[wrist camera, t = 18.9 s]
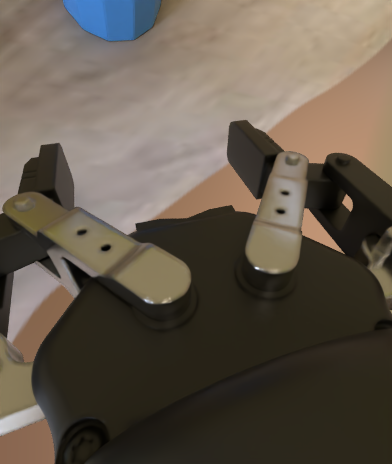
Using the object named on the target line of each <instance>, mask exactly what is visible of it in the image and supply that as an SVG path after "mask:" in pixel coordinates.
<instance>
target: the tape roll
mask: <svg viewBox="0 0 392 464" xmlns="http://www.w3.org/2000/svg"><path fill="white" fill-rule="evenodd" d="M63 2H64V6H65V8H66V9H67V11H68V12H69V13H70V14H71V15H72V17H73V18H74V19H75V20H76V21H77V23H78V24H79V25H80V26H81V27H82V29H84V30H85V31H88V32H90V33H92V34H94V35H96V36H99V37H101V38H103V39H105V40H107V41H123V40H135V39H136V38H138V37H139V36H140V35H142V34H143V33H145V32H146V31H147V30H149V29H150V28H152V27H153V25H154V22H155V19H156V17H157V14H158V11H159V8H160V5H161V0H63Z"/></svg>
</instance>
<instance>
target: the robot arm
mask: <svg viewBox="0 0 392 464" xmlns="http://www.w3.org/2000/svg"><path fill="white" fill-rule="evenodd" d="M227 157H228V161H229V163H230V164H231V166H232V167H233V168H234V170H235V171H236V173H237V174H238V175H239V177H240V178H241V179H242V181H243V182H244V183H245V185H246V186H247V187H248V188H249V190H250V192H251V193H252V194H253V196H254V197H255V198H256V199H261V198H262V200H261V203H260V206H259V209H258V212H257V215H255V214H251V213H247V212H238V211H235V210H234V208H233V206H232V205H230V206H224V207H219V208H214V209H209V210H207V211H204V212H202V213H199V214H197V215H194V216H192V217H189V218H183V219H157V220H152V221H147V222H142V223H137V224H136V230H137V231H135V232H133V233H131V234H129V235H126V234H124V233H123V232H121V231H119V230H118V229H116V228H114V227H113V226H111V225H109V224H107V223H106V222H104V221H102V220H101V219H99V218H97V217H96V216H94V215H92V214H90V213H89V212H87V211H85V210H84V209H82V208H80V207H75V208H74V183H73V178H72V175H71V172H70V169H69V166H68V163H67V161H66V158H65V155H64V152H63V149H62V147H61V145H60V143H55V144H47V145H41V148H40V153H39V157H37V158H31V159H30V160H29V161H28V162H27V163H26V164H25V165H24V169H23V174H22V179H21V182H20V186H19V190H18V195H15V196H13V197H11V198H10V199H8V200H7V201H6V202H5V203H4V205H3V208H2V209H3V212H4V213H2V214H0V436H2V435H4V434H7V433H10V432H13V431H15V430H18V429H20V428H23V427H25V426H28V425H31V424H33V423H36V422H39V421H41V420H44V419H47V422H48V424H49V427H50V430H51V434H52V437H53V443H54V451H55V464H392V314H391V312H390V310H392V187H391V186H390V185H388V184H387V183H386V182H385V181H383V180H382V179H381V178H380V177H379V176H377V175H376V174H375V173H373V172H372V171H371V170H370V169H369V168H367V167H366V166H365V165H363V164H362V163H361V162H360V161H359V160H357V159H356V158H354V157H353V156H350V155H347V154H343V153H332V154H329V155H328V156H327V157H326V160H325V163H324V164H317V163H309V160H308V158H307V157H306V156H304V155H302V154H300V153H297V152H291V151H286V152H285V151H284V150H283V149H282V148H281V147H280V146H279V145H277V144H276V143H275V142H274V141H273V140H272V139H271V138H270V137H269V136H268V135H267V134H266V133H265V132H263V131H261V130H258V129H255V128H254V127H253V126H252V125H251V124H250V123H249V122H248V121H247V120H241V121H233V122H231V123H230V126H229V135H228V146H227ZM346 194H347V195H348V196H349V197H350V198H351V199H352V202H353V209H352V211H351V212H350V211H349V210H348V209H347V208H346V207H345V206H344V205H343V204H342V201H343V199H344V197H345V195H346ZM304 208H309V210H310V212H311V213H312V214H313V215H314V217H315V218H316V219H317V220H318V221H319V222H320V224H321V225H322V226H323V227H324V229H325V230H326V231H327V232H328V234H329V235H330V236H331V237H332V239H333V240H334V241H335V242H336V244H337V245H338V246H339V247H340V248H341V250H342V251H343V252H344V253H345V254H343V253H341V252H338V251H336V250H334V249H332V248H330V247H328V246H325V245H323V244H321V243H319V242H317V241H314V240H312V239H310V238H307V237H305V236H303V235H302V231H301V227H302V220H303V213H304ZM34 262H35V263H36V264H37V265H38V266H39V267H41V268H42V269H43V270H44V271H46V272H47V273H48V274H49V275H51V276H52V277H53V278H54V279H56V280H57V281H58V282H59V283H61V284H62V285H63V286H64V287H65V288H66V289H67V290H68V291H69V293H70V294H71V295H72V296H73V297H74V298H75V299H74V300H73V302H72V303H71V304H70V305H69V307H68V308H67V310H66V311H65V312H64V314H63V315H62V316H61V318H60V319H59V320H58V322H57V323H56V324H55V326H54V327H53V328H52V330H51V331H50V332H49V334H48V335H47V336H46V338H45V339H44V341H43V342H42V344H41V345H40V347H39V349H38V352H37V354H36V356H35V359H34V361H33V362H27V363H24V360H23V356H22V353H21V352H20V351H19V350H18V349H17V348H16V347H15V346H14V345H13V344H12V343H11V342H10V341H9V340H8V339H7V333H8V324H9V314H10V305H11V295H12V286H13V277H14V271H16V270H18V269H21V268H23V267H25V266H27V265H30V264H32V263H34Z"/></svg>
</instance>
